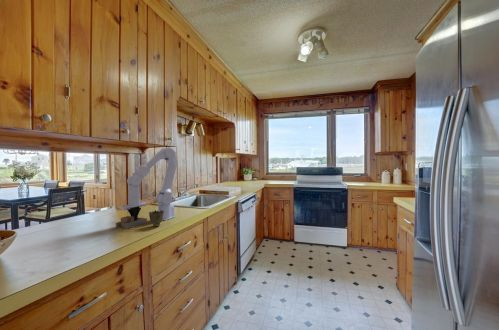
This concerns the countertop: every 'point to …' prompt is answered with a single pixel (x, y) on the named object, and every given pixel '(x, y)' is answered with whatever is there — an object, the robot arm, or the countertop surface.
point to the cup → (156, 217)
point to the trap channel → (139, 221)
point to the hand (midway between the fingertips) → (134, 220)
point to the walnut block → (126, 220)
